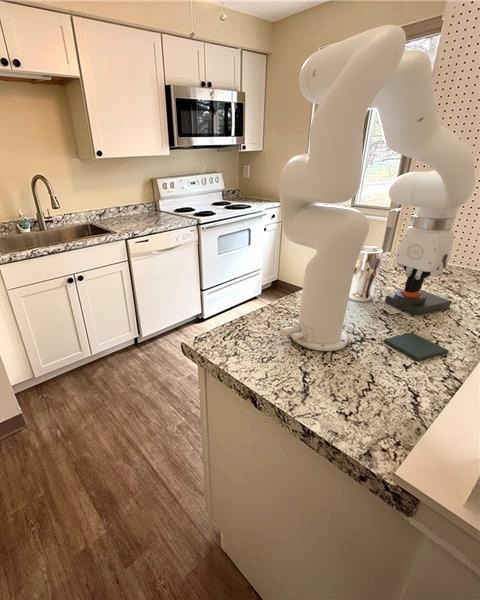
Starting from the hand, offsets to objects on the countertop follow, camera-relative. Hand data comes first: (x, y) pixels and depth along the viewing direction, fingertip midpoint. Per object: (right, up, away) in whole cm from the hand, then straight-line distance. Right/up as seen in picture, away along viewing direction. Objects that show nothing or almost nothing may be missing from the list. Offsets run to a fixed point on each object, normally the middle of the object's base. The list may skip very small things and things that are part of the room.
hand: (411, 290), depth 84 cm
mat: (-12, -13, -14) cm, 22 cm away
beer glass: (-8, -2, +10) cm, 13 cm away
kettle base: (+3, -4, +3) cm, 6 cm away
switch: (0, -2, +1) cm, 2 cm away
